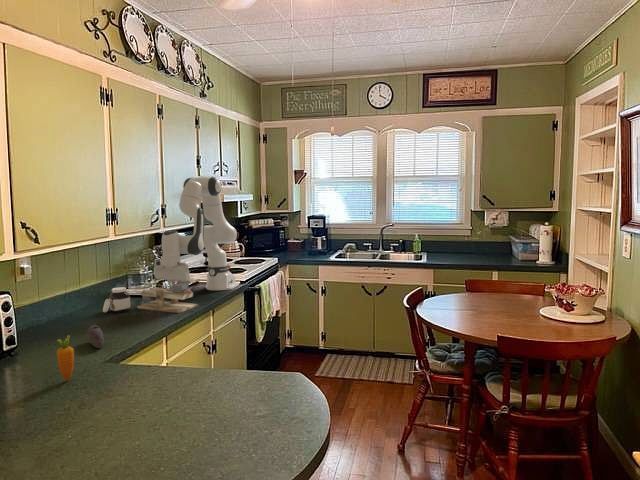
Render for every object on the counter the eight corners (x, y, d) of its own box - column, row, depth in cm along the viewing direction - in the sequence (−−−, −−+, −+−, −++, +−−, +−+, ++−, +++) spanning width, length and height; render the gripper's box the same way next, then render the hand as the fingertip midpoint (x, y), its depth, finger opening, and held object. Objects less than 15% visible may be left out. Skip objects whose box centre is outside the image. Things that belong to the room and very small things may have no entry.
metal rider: (178, 292, 250) (177, 283, 250) (187, 293, 248) (187, 284, 248) (172, 293, 247) (172, 285, 246) (182, 294, 244) (181, 286, 244)
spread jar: (133, 310, 246) (131, 288, 245) (113, 315, 237) (111, 292, 236) (118, 307, 253) (117, 285, 251) (98, 312, 243) (97, 289, 242)
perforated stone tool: (107, 349, 188) (106, 332, 187) (92, 352, 185) (91, 334, 184) (100, 339, 200) (99, 323, 199) (86, 342, 197) (85, 325, 196)
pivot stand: (157, 301, 264) (156, 283, 263) (197, 305, 254) (196, 287, 252) (137, 308, 250) (136, 289, 249) (179, 313, 240) (178, 293, 239)
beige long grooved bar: (152, 296, 260) (151, 285, 260) (193, 300, 250) (192, 288, 249) (141, 300, 253) (141, 288, 252) (183, 304, 243) (182, 292, 242)
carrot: (58, 385, 154) (55, 340, 152) (59, 379, 158) (55, 335, 156) (76, 382, 156) (72, 337, 154) (75, 376, 160) (72, 333, 159)
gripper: (191, 262, 246) (192, 288, 248) (160, 260, 254) (161, 285, 256) (183, 264, 241) (185, 291, 242) (151, 262, 249) (153, 288, 250)
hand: (172, 288), depth 249 cm, fingers closed
